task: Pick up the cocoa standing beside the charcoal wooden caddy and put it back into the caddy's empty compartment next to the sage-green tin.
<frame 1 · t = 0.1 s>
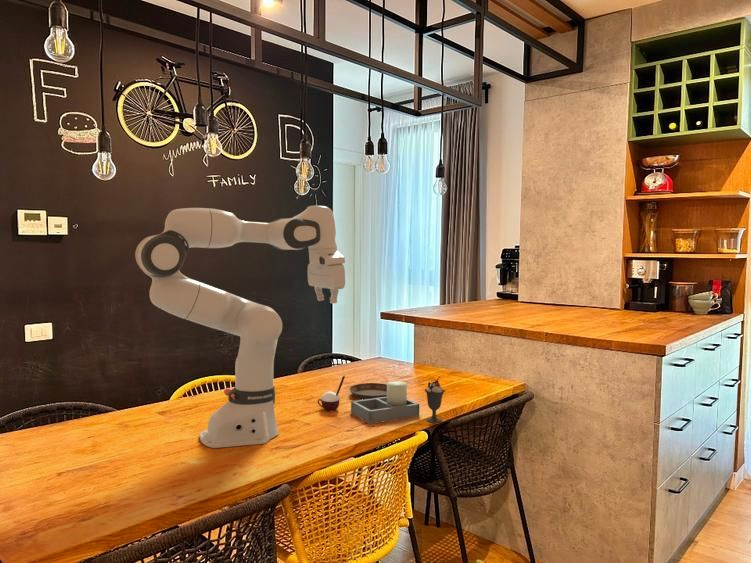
hand: (327, 301, 176), 39 cm above the table, tool pointing down, fingers open, 8 cm apart
caddy: (384, 414, 189), on the table
sundae: (434, 421, 183), on the table
cocoa: (330, 410, 193), on the table
plant saucer: (372, 396, 212), on the table
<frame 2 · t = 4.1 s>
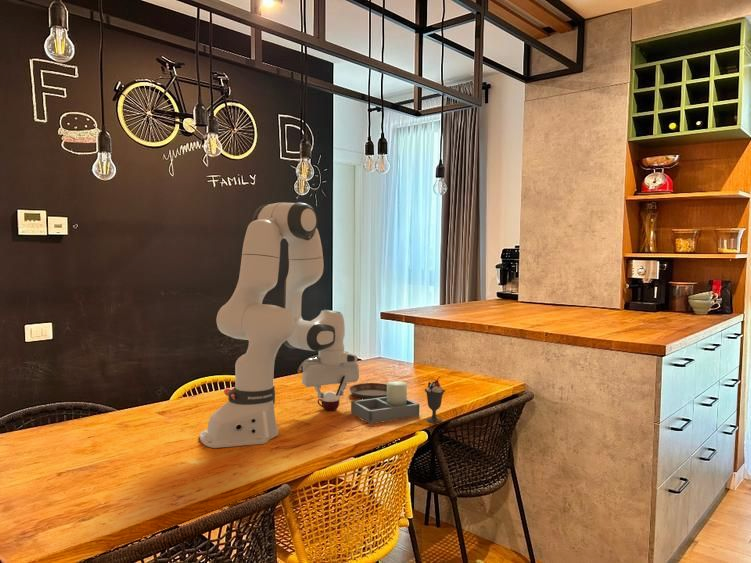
hand: (330, 396, 193), 5 cm above the table, tool pointing down, fingers closed on cocoa, 6 cm apart
cocoa: (330, 410, 193), on the table, touching gripper
everything else where it was.
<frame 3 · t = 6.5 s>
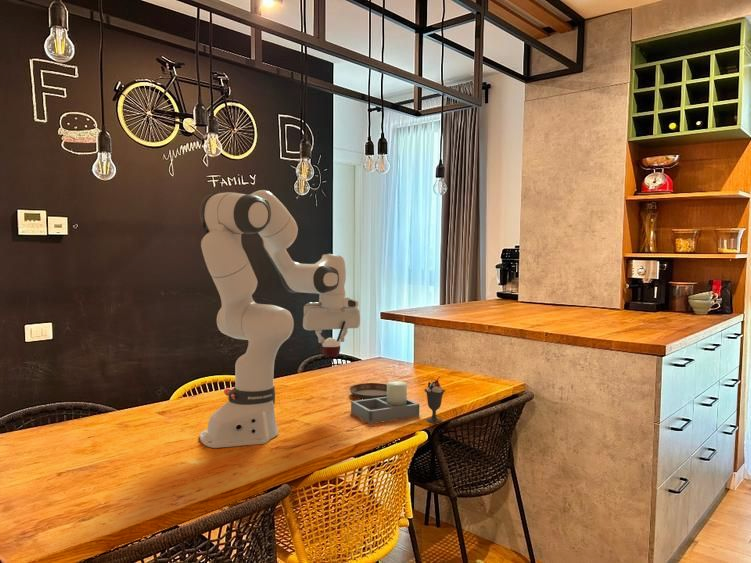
hand: (331, 342, 191), 23 cm above the table, tool pointing down, fingers closed on cocoa, 6 cm apart
cocoa: (331, 357, 192), point 18 cm above the table, touching gripper
everything else where it was.
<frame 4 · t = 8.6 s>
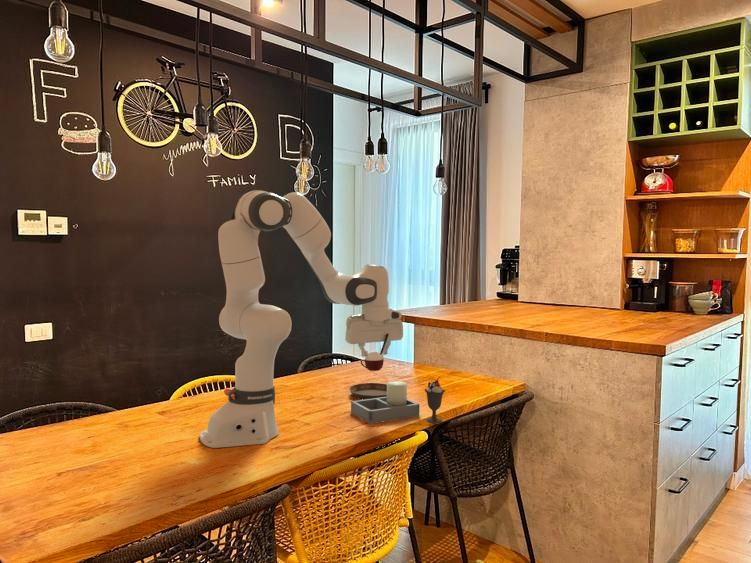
hand: (374, 355, 185), 20 cm above the table, tool pointing down, fingers closed on cocoa, 6 cm apart
cocoa: (374, 370, 185), point 15 cm above the table, touching gripper
everything else where it was.
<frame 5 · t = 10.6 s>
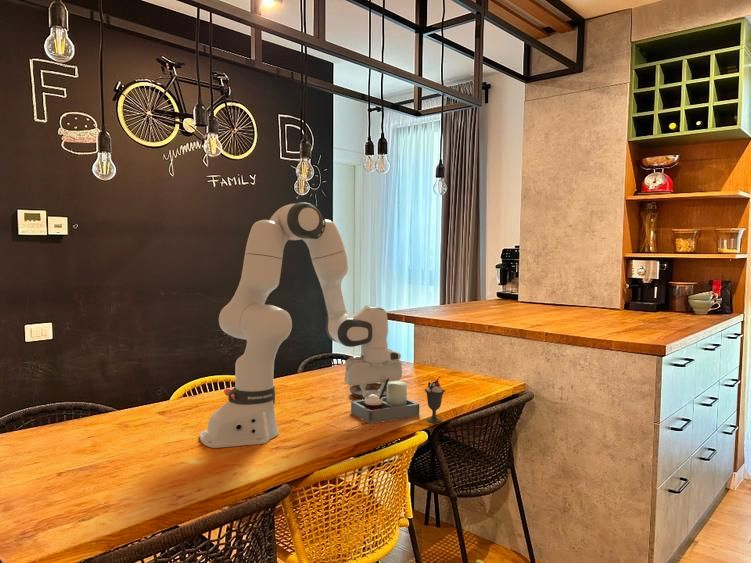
hand: (373, 395, 186), 7 cm above the table, tool pointing down, fingers open, 4 cm apart
cocoa: (373, 414, 186), point 1 cm above the table, touching caddy, gripper
everything else where it was.
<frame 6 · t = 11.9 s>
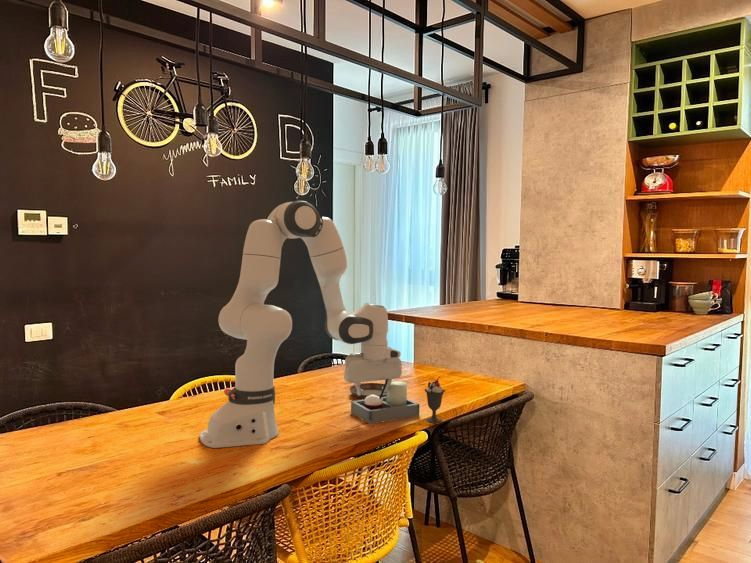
hand: (372, 393, 186), 8 cm above the table, tool pointing down, fingers open, 8 cm apart
cocoa: (373, 414, 186), point 1 cm above the table, touching caddy
everything else where it was.
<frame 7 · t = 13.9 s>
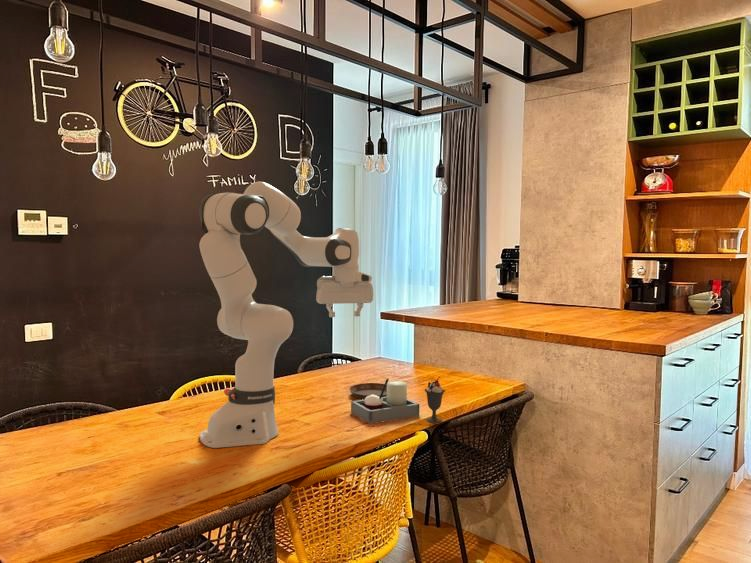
hand: (344, 316, 192), 32 cm above the table, tool pointing down, fingers open, 8 cm apart
nothing on the table moved.
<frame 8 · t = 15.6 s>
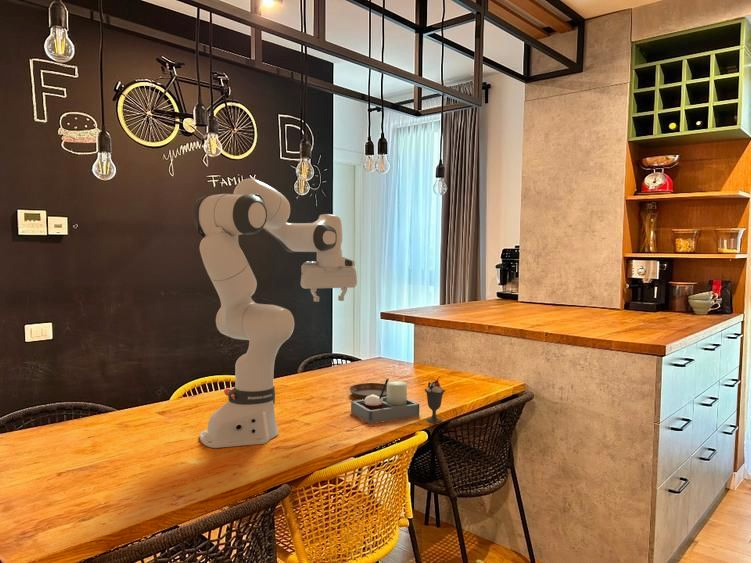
hand: (328, 301, 196), 37 cm above the table, tool pointing down, fingers open, 8 cm apart
nothing on the table moved.
at the end: cocoa 0.5 cm from the target spot on the caddy, point 0.8 cm above the caddy's base; cocoa tilted 0°; the gripper is holding nothing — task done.
